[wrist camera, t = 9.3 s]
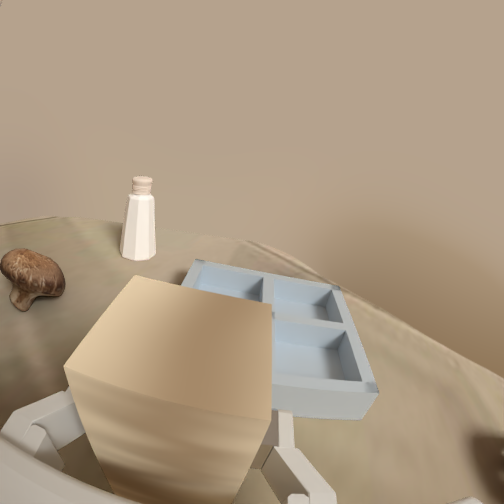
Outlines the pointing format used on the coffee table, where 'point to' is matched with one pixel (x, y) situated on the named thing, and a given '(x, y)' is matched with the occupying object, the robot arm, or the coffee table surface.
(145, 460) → the birch block
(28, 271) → the mushroom
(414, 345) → the coffee table surface
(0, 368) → the coffee table surface
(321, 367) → the divided tray
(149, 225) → the pepper shaker
